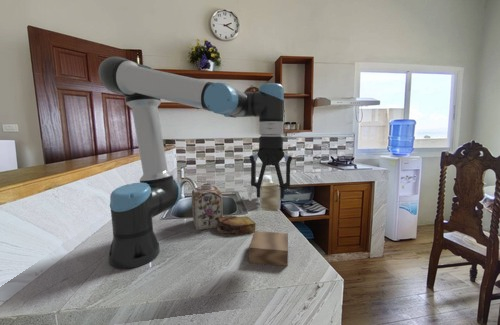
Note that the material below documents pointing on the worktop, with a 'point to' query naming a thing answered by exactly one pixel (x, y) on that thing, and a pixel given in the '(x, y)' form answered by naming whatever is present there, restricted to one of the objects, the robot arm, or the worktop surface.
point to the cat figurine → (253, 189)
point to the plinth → (269, 248)
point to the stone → (235, 224)
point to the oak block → (270, 196)
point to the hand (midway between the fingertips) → (270, 207)
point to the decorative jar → (206, 206)
